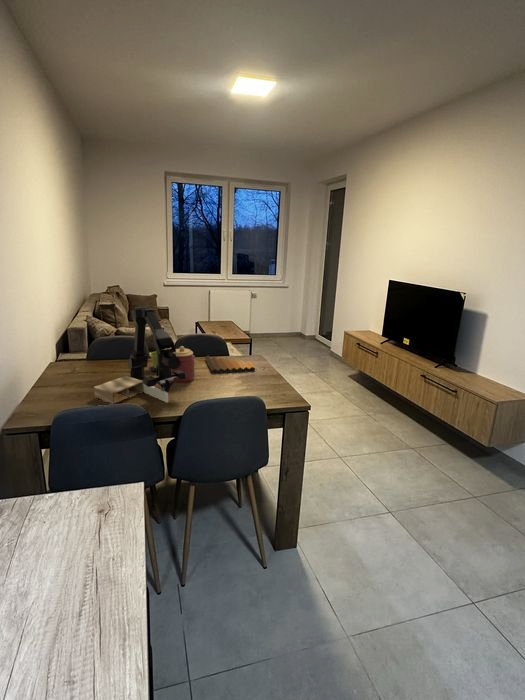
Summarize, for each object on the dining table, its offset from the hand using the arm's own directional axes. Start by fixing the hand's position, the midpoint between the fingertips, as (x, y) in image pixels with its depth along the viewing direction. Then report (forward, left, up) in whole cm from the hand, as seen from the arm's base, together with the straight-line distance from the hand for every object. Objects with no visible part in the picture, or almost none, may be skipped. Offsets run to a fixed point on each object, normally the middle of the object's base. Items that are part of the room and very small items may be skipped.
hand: (165, 395), depth 184 cm
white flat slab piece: (+2, -5, -2) cm, 5 cm away
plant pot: (-29, -33, -2) cm, 44 cm away
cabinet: (+9, -20, -2) cm, 22 cm away
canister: (-25, -12, -2) cm, 28 cm away
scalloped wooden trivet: (-57, -5, -2) cm, 58 cm away
